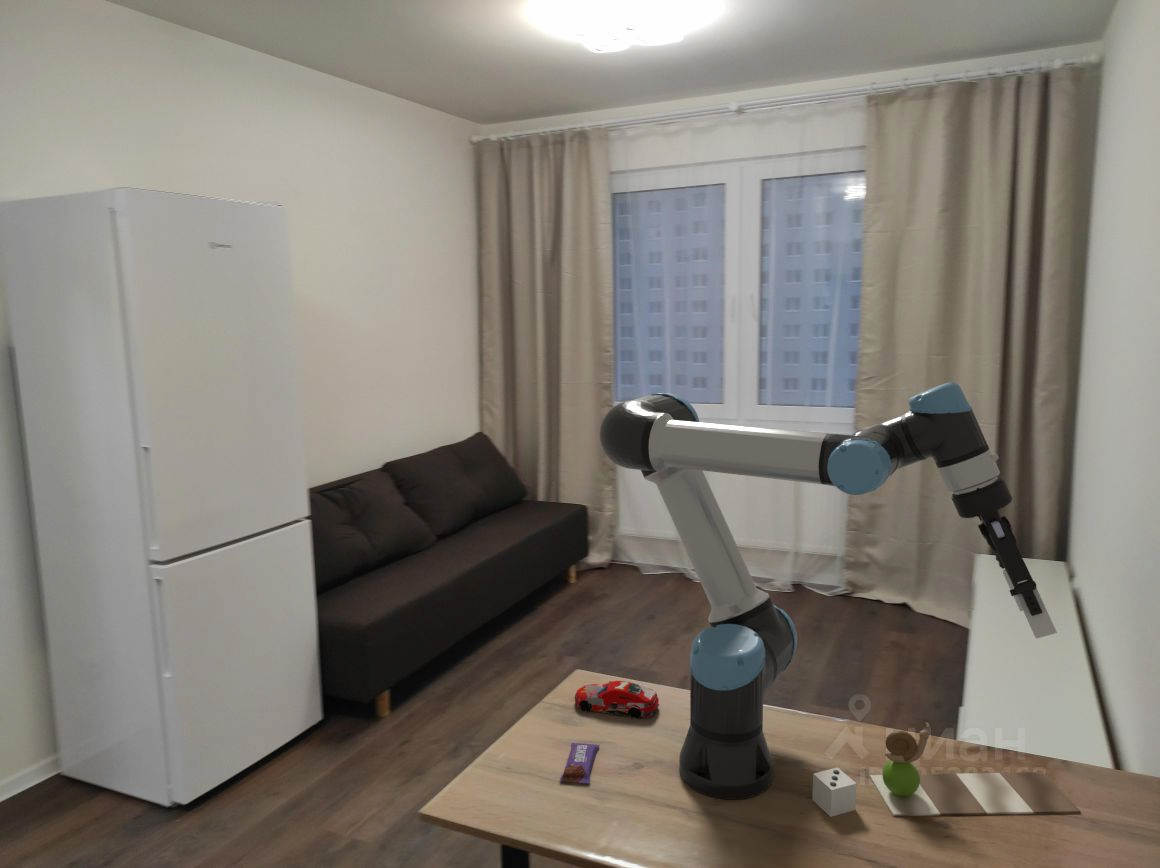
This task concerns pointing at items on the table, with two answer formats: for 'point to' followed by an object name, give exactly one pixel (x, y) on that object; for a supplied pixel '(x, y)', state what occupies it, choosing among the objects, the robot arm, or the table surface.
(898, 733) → the snail figurine
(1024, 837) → the table surface
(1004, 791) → the game board
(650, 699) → the race car
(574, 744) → the snack package
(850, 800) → the die
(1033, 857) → the table surface
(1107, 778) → the table surface
